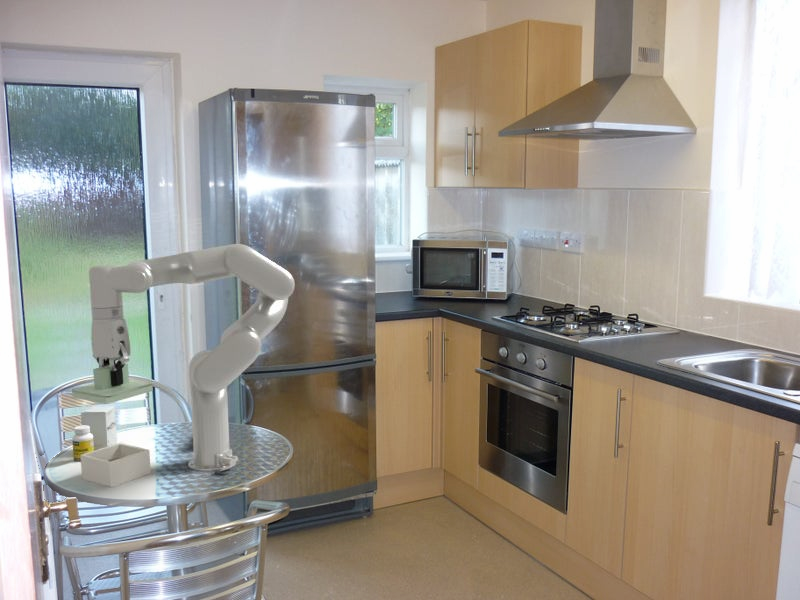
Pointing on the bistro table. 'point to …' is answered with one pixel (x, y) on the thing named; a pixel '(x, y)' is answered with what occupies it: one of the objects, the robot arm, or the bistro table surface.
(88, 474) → the storage box
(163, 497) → the bistro table surface
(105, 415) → the supplement box
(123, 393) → the lid
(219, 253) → the robot arm
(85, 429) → the supplement bottle
